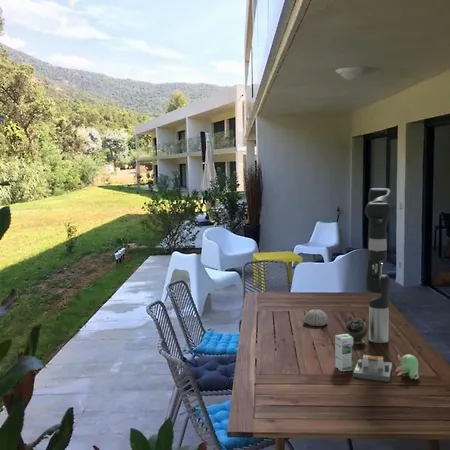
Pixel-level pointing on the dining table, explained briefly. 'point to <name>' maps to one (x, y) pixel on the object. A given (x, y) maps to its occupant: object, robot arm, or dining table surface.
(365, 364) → the breaker paddles
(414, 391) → the dining table surface
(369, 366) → the breaker panel
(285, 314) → the dining table surface
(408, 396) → the dining table surface
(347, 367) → the syrup box
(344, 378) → the dining table surface
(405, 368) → the frog
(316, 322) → the sea urchin shell
